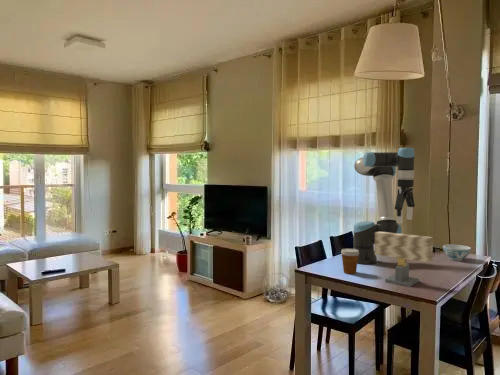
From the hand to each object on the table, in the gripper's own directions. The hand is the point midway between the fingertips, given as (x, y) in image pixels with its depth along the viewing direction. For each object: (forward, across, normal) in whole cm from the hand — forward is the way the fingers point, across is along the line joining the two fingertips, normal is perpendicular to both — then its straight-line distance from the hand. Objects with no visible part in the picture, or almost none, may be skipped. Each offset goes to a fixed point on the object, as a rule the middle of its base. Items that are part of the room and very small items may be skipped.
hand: (404, 221), depth 195 cm
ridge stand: (+28, -8, -2) cm, 30 cm away
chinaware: (+30, +59, -10) cm, 67 cm away
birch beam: (+16, -8, -2) cm, 18 cm away
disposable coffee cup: (+29, -10, +24) cm, 39 cm away
